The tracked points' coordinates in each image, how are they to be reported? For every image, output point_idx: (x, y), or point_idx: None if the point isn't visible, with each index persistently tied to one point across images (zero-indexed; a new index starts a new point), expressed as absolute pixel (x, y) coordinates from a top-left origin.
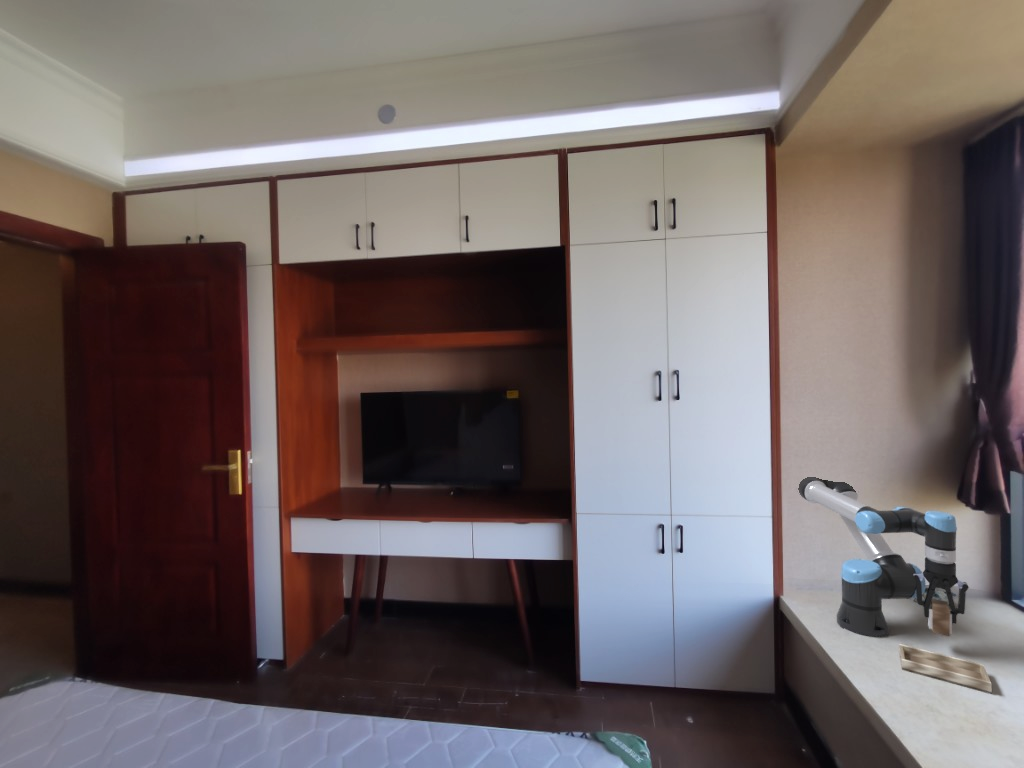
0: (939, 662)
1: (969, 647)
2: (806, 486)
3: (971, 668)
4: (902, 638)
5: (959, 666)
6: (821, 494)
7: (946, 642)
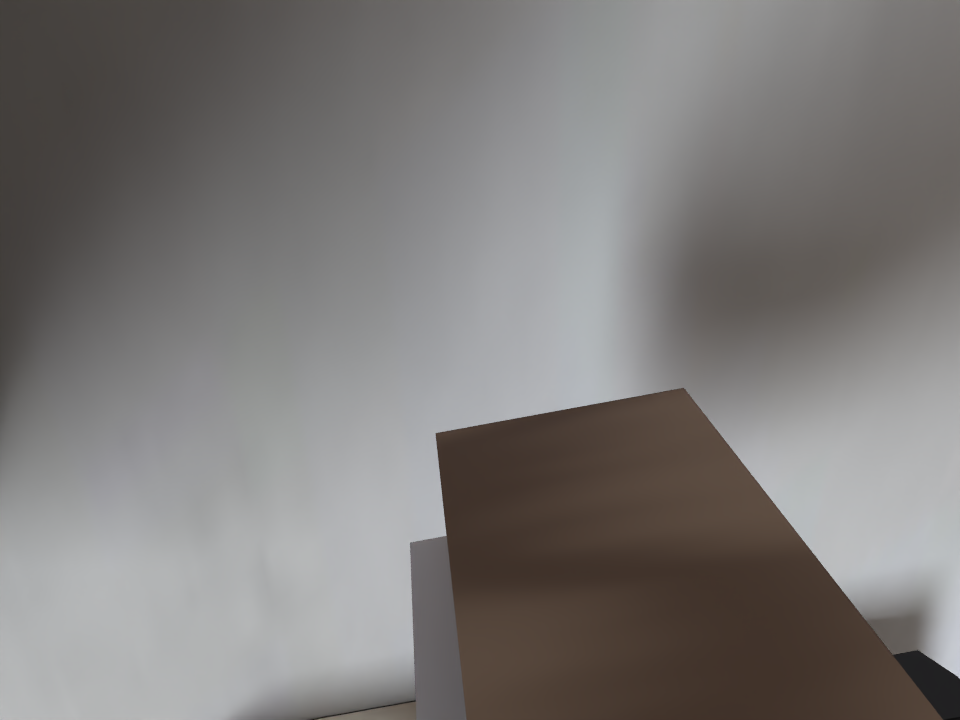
0: None
1: (851, 13)
2: None
3: None
4: (124, 380)
5: None
6: None
7: (593, 72)
